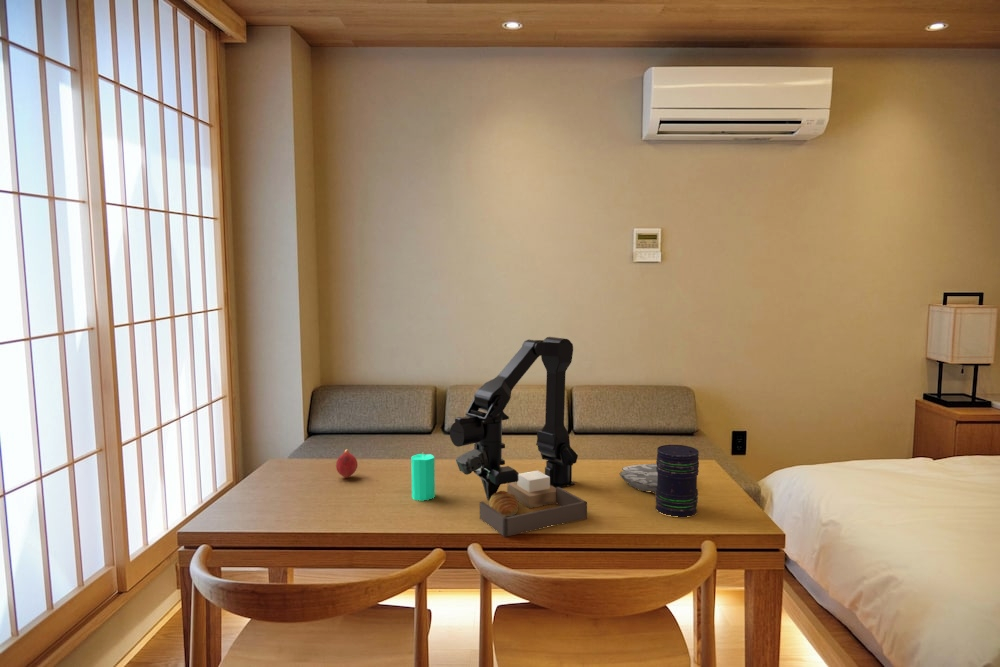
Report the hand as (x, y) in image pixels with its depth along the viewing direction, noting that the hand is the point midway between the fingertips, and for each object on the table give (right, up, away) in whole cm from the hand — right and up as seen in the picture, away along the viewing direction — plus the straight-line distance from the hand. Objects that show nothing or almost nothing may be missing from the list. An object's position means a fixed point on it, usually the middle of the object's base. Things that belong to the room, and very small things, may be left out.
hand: (490, 500), depth 168 cm
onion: (-40, +1, +20) cm, 45 cm away
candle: (-17, -1, +5) cm, 18 cm away
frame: (+10, -2, -9) cm, 14 cm away
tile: (+11, +3, +4) cm, 12 cm away
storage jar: (+45, -2, -4) cm, 45 cm away
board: (+11, 0, +4) cm, 12 cm away
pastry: (+4, -2, -4) cm, 6 cm away
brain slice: (+43, 0, +15) cm, 46 cm away
